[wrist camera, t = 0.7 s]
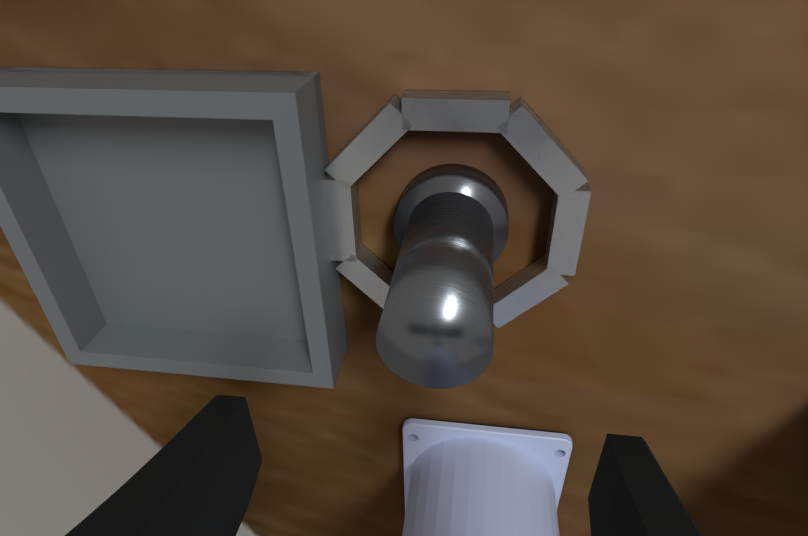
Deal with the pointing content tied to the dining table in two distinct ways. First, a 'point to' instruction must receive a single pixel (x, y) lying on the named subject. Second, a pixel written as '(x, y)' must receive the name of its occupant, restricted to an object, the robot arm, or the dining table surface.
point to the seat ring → (460, 116)
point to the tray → (175, 219)
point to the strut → (443, 277)
